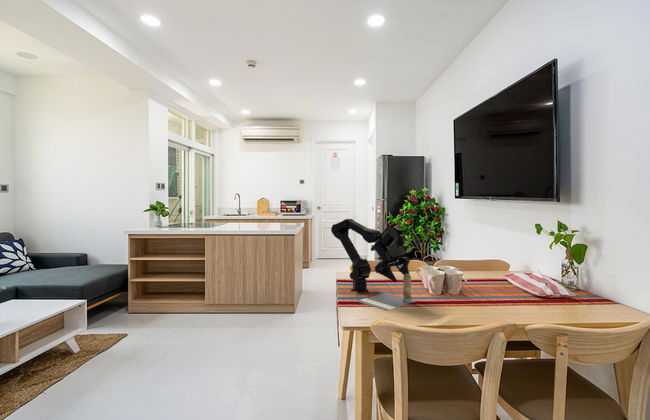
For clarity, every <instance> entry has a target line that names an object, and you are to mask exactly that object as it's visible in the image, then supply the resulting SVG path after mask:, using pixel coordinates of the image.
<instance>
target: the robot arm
mask: <svg viewBox="0 0 650 420" xmlns="http://www.w3.org/2000/svg"><path fill="white" fill-rule="evenodd" d="M349 230H351V231H353V232H355V233H356V234H358V235H360V236H361V237H362V238H363V240H364V241H365V242H366V243H368V244H371V247H370V251H371V252H374V251H375V252H376V253H377V255H378V256H379V257H378V261H379V262H378V263H377V264H376V265H375V266H374V272H375V273H376V274H379V275H382V276H383V277H385V278H387V279H389V280H390V281H392V282H393V283H395V284H396V283H397V282H398V279H397V278H396V276H395V274H394V273H393V271H392V268H394V267H396V269H398V272H399V273H401V274H402V275H403V276H405V274H410V271H409V264H410V262H411V259H410V258H409V257H408V256H407V257H406V256H405V254H406V249H405V248H404V247H403V246H400V247H397V248H394V249H390V248H389V247H391V246H392V245H393V244H394V242H395V241H397V239H398V238H399V234H398V233H397V231H395V230H394V229H391V228H390V226H389V227H385V228H384V231H383V232H381V231H380V230H377V229H375V228H374V229H373V228H369V227H366V226H364V225H363V224H361V223H359V222H357V221H355V220H354V219H352V218H345V219H343V220H342V221H339V222H337V223H334V224H332V226H331V229H330V231H331V233H332V235H333V237H335V238H336V239H337V240H339V241H340V242H341V245H342V247H343V248H344V250H345V251H346V254H347V255H348V258H349V259H350V261H351V263H352V264H351V269H352V271H351V272H350V274H349V279H350V280H352V288H351V289H352V290H353V291H352V290H351V291H352V292H355V291H357V292H356V293H358V292H361V293H364V292H363V291H365V292H368V291H369V289H368V288H367V287H368V284H367V279H369V278H370V274H371V271H372V267H371V264H370V263H369V261H368V259H366V258H362V257H361V256H360V254H359V252H358V250H357V249H356V247H355V245H354V243H353V242H352V240H351V238H350V237H349V233H350V232H349ZM372 244H373V245H372ZM402 256H404V257H402ZM367 290H368V291H367Z"/></svg>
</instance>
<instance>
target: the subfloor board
mask: <svg viewBox="0 0 650 420" xmlns="http://www.w3.org/2000/svg"><path fill="white" fill-rule="evenodd" d="M356 302H358V303H361V304H364V305H367V306H370V307H373V308H377V309H380V310H383V311H386V312H388V311H391V310H394V309H397V308H401V307H402V306H407V305H409V304H412V303H415V302H417V300H414V299H411V303H404V302H403V296H399V295H395V294H391V293H386V292H385V293H382V294H377V295H374V296H369V297H366V298H365V297H364V298H362V299H358V300H356Z"/></svg>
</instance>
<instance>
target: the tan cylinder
mask: <svg viewBox="0 0 650 420" xmlns="http://www.w3.org/2000/svg"><path fill="white" fill-rule="evenodd" d="M402 280H403V283H402V284H403V286H402V288H403V289H402V290H403V291H402V292H403V293H402V294H403V295H402V297H403V302H404V303H410V304H412V303H411V300H412V276H411V275H410V273H409V274H405V276H404V275H403V279H402Z"/></svg>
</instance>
